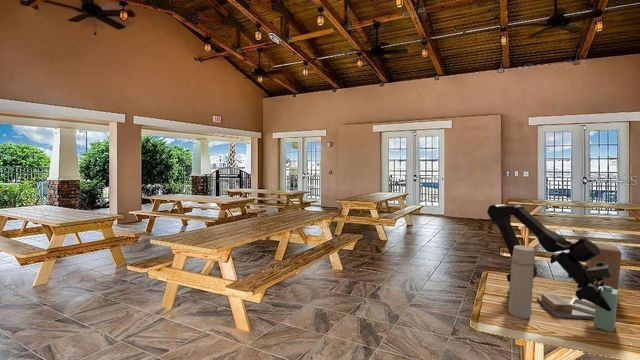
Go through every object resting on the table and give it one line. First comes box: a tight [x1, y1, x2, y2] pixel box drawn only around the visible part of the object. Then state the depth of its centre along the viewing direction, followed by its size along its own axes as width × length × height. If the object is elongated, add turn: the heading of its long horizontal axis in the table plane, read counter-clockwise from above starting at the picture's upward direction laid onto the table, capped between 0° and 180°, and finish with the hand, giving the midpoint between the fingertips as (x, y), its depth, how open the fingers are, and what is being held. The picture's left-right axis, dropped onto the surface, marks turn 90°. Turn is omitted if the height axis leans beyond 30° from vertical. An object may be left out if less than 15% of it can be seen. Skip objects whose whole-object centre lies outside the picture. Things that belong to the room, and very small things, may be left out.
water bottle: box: [507, 244, 537, 320], centre depth 125 cm, size 9×8×25 cm
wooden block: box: [585, 242, 623, 291], centre depth 144 cm, size 10×10×20 cm
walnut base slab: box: [541, 293, 572, 312], centre depth 130 cm, size 6×9×2 cm, turn 174°
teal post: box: [593, 286, 619, 333], centre depth 117 cm, size 5×5×14 cm
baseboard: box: [536, 296, 617, 322], centre depth 129 cm, size 20×14×2 cm
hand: (611, 308), depth 115 cm, fingers closed on teal post, 5 cm apart
